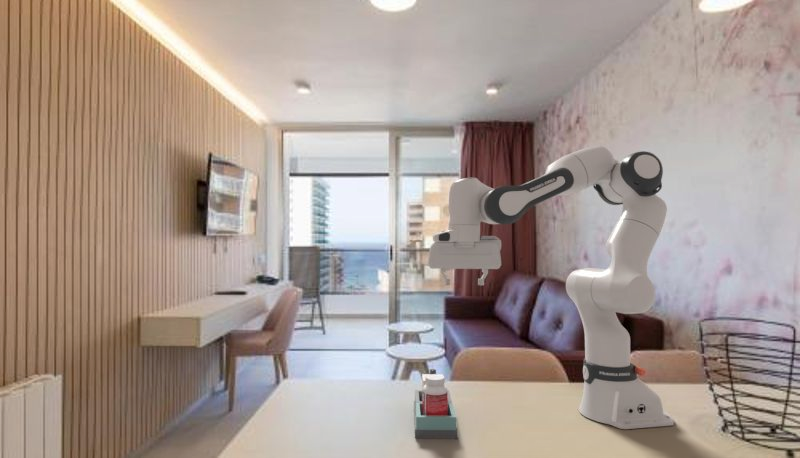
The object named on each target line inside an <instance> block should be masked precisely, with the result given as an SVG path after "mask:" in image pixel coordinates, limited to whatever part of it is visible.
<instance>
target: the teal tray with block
mask: <svg viewBox="0 0 800 458" xmlns="http://www.w3.org/2000/svg"><path fill="white" fill-rule="evenodd" d="M430 374H438V375H442V376H444V374H441V373H440V374H439V373H437V370H436V369H434V368H431V369H429V373H426V374H425V373H422V374H421V389H414V401H413V416H414V417H413V418H414V419H413V423H414V438H415V439H458V427H457V416H456V410H455V407H454V404H453V400H452V397H451V393H450V390H449V389H447V399H448V401H447V402H448V411H447V412H448V416H434V415H423V392H422V391H423V387H424V385H426V382H425V380H426V376H427V375H430ZM443 385H445V383H444V384H443Z"/></svg>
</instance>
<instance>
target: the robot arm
mask: <svg viewBox="0 0 800 458" xmlns="http://www.w3.org/2000/svg"><path fill="white" fill-rule="evenodd" d="M663 174H664V169H663V164H662V162H661V159H659V157H658V156H657V155H656V154H654V153H652V152H649V151H637V152H633V153H631V154H629V155H627V156H626V157H624V158H623V159H622V160H620V161H619V160H618V159H615V158H614V157H613V154H612V152H611V151H610V150H609V149H608V148H607V147H605V146H602V145H595V146H589V147H587V148H586V147H585V148H583V149H579V150H576V151H573V152H571V153H569V154H566V155H564V156H562V157H559V158H558V159H556V160H555V161H553V162H552V163H551V164H549V165H547V167H546V169H545V173H544V174H543V175H541V176H539V177H537V178H535V179H532V180H530V181H527V182H525V183H523V184H520V185H510V184H509V185H501V186H498V187H496V188H492V187H491V186H489V185H486V184H485V183H483V182H482V181H480V180H479V179H478V178H477V177H465V178H461V179H457V180H455V181H454V182H453V183H451V185H450V187H449V195H448V213H449V221H448V229H447V230H443V231H442V230H441V232H437V233H434V234H433V235H432V241H433V243H431V245H430V246H429V251H428V259H427V261H428V262H427V265H428V267H429V268H430V269H439V270H440V273H441V276H442V277H443V279H444V282H443V283H444V286H450V285H451V278H448V277H447V276H446V274H445V273H447V269H449V270H452V269H453V270H455V269H457V270H459V269H460V270H463V269H464V270H481V272H482V273H483V274H482V275H481V277H480V278H477V286H484V285H485V279H486V277H487V276H488V274H489V270H499V269H500V268H501V266H502V258H501V250H502V240H501V239H500V237H497V236H496V235H481V223H485V224H489V225H512V224H515V223H516V222H518V221H519V220H520V219H521V218H522V217H523V216H524V215H526V212H527V211H528V210H530V209H531V208H532V207H535V206H536V205H539V204H540V203H542V202H544V201H547V200H549V199H551V198H554V197H555V196H558V197H564V196H569V195H572V194H575V193H578V192H580V191H583V190H586V189H588V188H590V187H593V188H594V190H595V191H596V192H597V194H598V196H599V197H600V199H602V201H603V202H605V203H606V204H608V205H611V206H620V205H621V206H622V211H621V214H620V216H619V217H618V219H617V221H616V223H615V225H614V227H613V229H612V231H611V233H610V235H609V237H608V238H607V241H606V243H605V248H606V251H607V253H608V255H609V257H611V261H610V264H609V266H608V267H607V268H597V267H585V268H579V269H575V270H573V271H572V272H570V274H568V276H567V278H566V282H565V292H566V294H567V295H568V297H569V298H570V300H571V301H572V302H573V303H574V304H575V307H576V309H577V310H578V314H579V317H580V319H581V322H582V326H583V333H584V358H583V367H582V375H583V376H582V377H583V380H584V382H583V391H582V395H581V396H582V397H581V401H580V405H579V407H578V411H579V413H580V414H581V415H582V416H583V417H585V418H587V419H589V420H591V421H595V422H598V423H602V424H606V425H610V426H612V427H615V428H618V429H621V430H630V429H632V430H634V429H643V428H657V427H670V426H674V424H675V423H674V418H673V417H672V416H671V415H670V414H669V412H666V410H664V407H663V402H662V399H661V397H660V396H659V395H658V393H657V392H656V391H655V390H653V389H652V388H651V387H650V386H649V385H648V384H646V383H645V382H644V381H642V380H641V379H639V377H644V376H645V375H646V374H647V371H646V370H645V369H644V368H643V367H642V366H637V365H635V364H634V363H632V362H631V336H630V333H629V332H628V330H627V329H626V328H625V327H624V326H623V325H622V323H621V321H620V319H619V318H618V316H617V313H619V314H623V315H627V314H628V315H630V314H631V315H635V314H644V313H646V312H648V311H649V310H650V309H651V308H652V307H653V305H654V303H655V300H656V289H655V286H654V283H653V282H652V280H651V279H650V278H649V275H648V268H647V267H648V262H649V258H650V256H651V253H652V252H653V249H654V248H655V247H654V246H655V245H656V244H657V243H656V242H657V240H658V239H659V236H660V234H661V233H662V229H663V227H664V224H665V220H666V217H667V212H668V208H667V204H666V202H665V201H664V200H663V199H662V197H660V196H657V194H658V193H659V192H660V191H661V190H662V187H663V185H662V184H663V183H662V179H663ZM638 375H639V377H638Z"/></svg>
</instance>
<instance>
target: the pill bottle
mask: <svg viewBox="0 0 800 458" xmlns="http://www.w3.org/2000/svg"><path fill="white" fill-rule="evenodd" d="M429 374H430V373H429ZM438 374H439V373H436V374H430V375H427V376H426V380H425V382H426V385H424V387H423V391H422V392H423V415H434V416H448V412H447V411H448V402H447V401H448V399H447V390H448V388H447V386H446V384H445V382H446V381H445V380H446V379H445V376H444V375H443V376H442V375H438ZM443 384H444V385H443Z"/></svg>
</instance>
